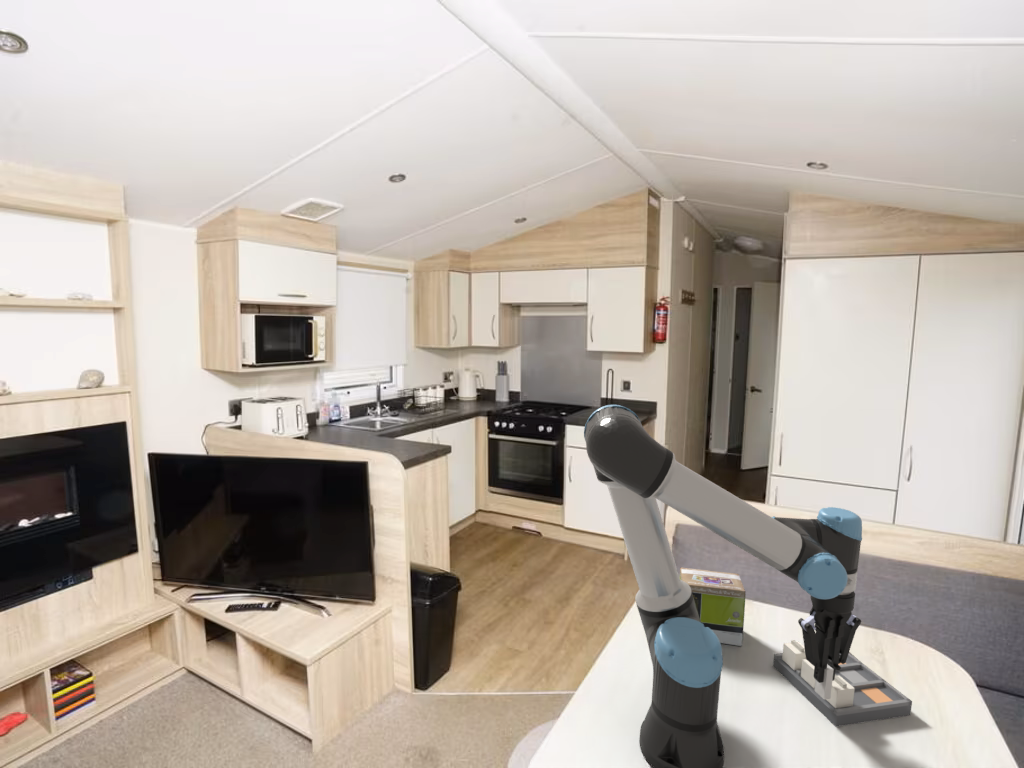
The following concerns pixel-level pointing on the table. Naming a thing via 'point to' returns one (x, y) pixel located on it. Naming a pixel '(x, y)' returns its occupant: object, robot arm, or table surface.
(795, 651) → the tab
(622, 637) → the table surface
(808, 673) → the tab
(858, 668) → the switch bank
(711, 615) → the tea box
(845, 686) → the tab
